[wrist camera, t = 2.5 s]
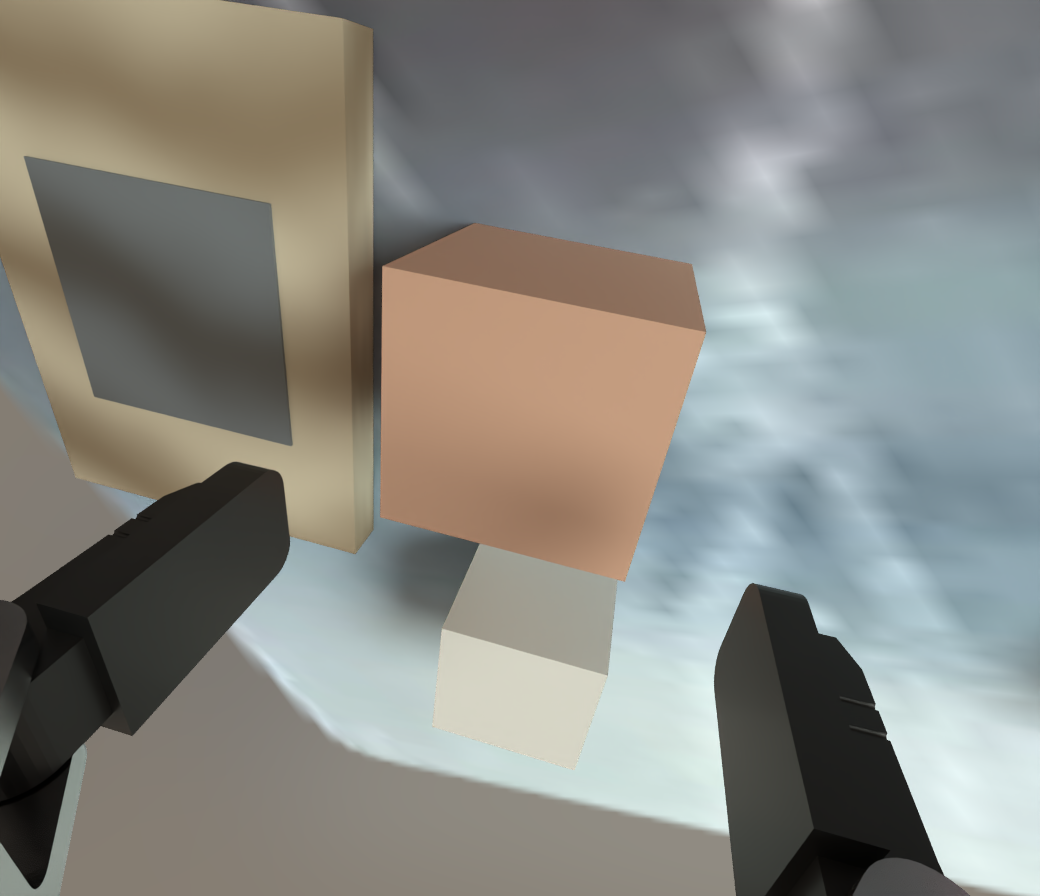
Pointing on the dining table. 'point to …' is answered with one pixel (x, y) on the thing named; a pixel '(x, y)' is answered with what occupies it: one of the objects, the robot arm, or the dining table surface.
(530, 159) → the dining table surface
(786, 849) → the robot arm
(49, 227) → the beige rectangular frame
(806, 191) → the dining table surface
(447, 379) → the terracotta cube
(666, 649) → the dining table surface
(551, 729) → the white cube
